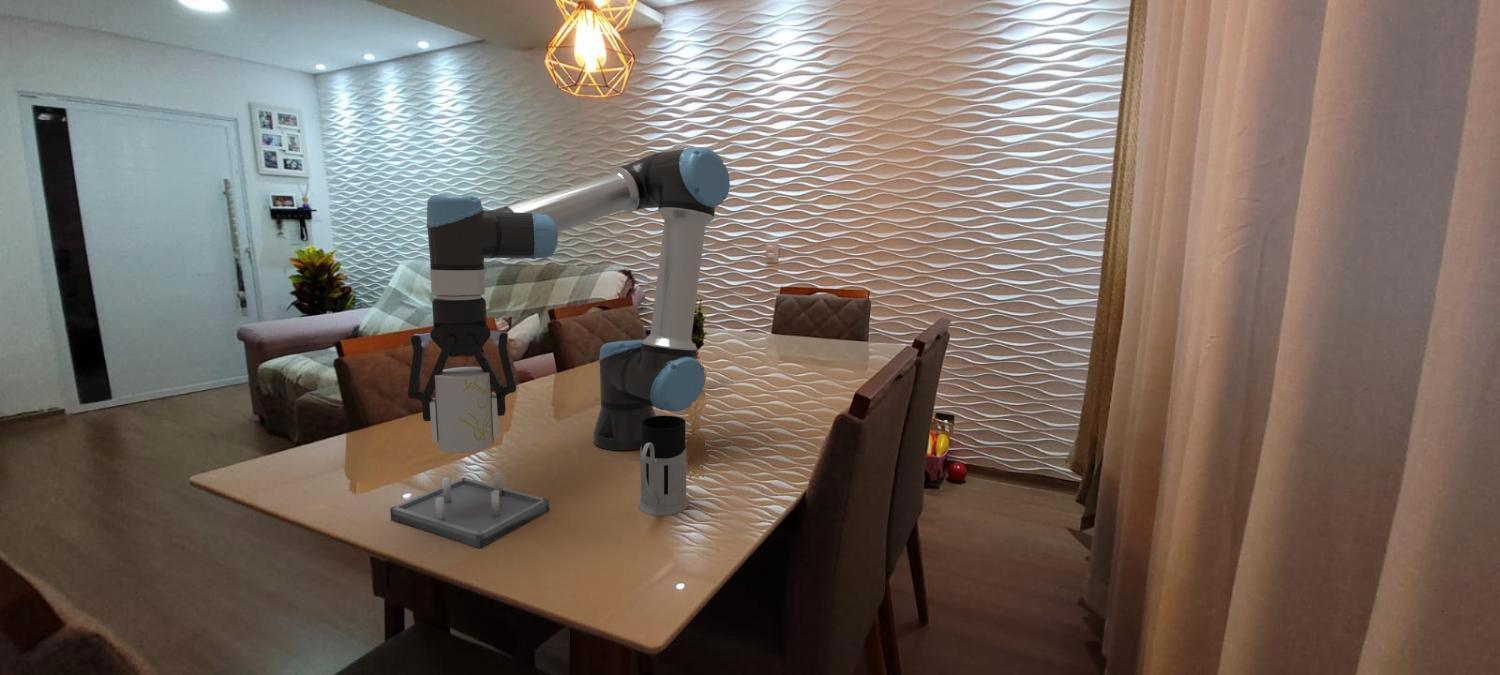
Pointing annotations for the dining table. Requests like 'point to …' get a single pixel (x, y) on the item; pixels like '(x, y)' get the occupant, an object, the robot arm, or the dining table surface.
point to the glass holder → (663, 466)
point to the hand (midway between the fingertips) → (466, 437)
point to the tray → (470, 510)
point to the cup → (464, 410)
